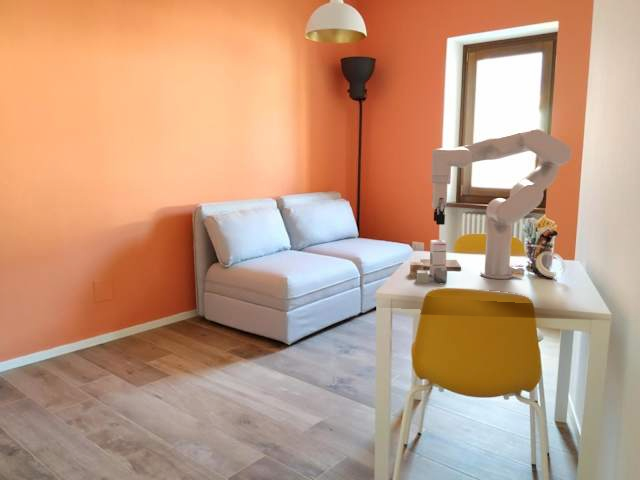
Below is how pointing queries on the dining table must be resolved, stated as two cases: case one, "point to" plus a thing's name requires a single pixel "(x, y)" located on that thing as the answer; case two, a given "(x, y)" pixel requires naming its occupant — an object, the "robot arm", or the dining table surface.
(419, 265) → the oak block
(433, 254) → the syrup box
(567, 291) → the dining table surface
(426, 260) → the walnut board
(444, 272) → the grey tin
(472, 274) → the dining table surface
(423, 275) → the sage cube
